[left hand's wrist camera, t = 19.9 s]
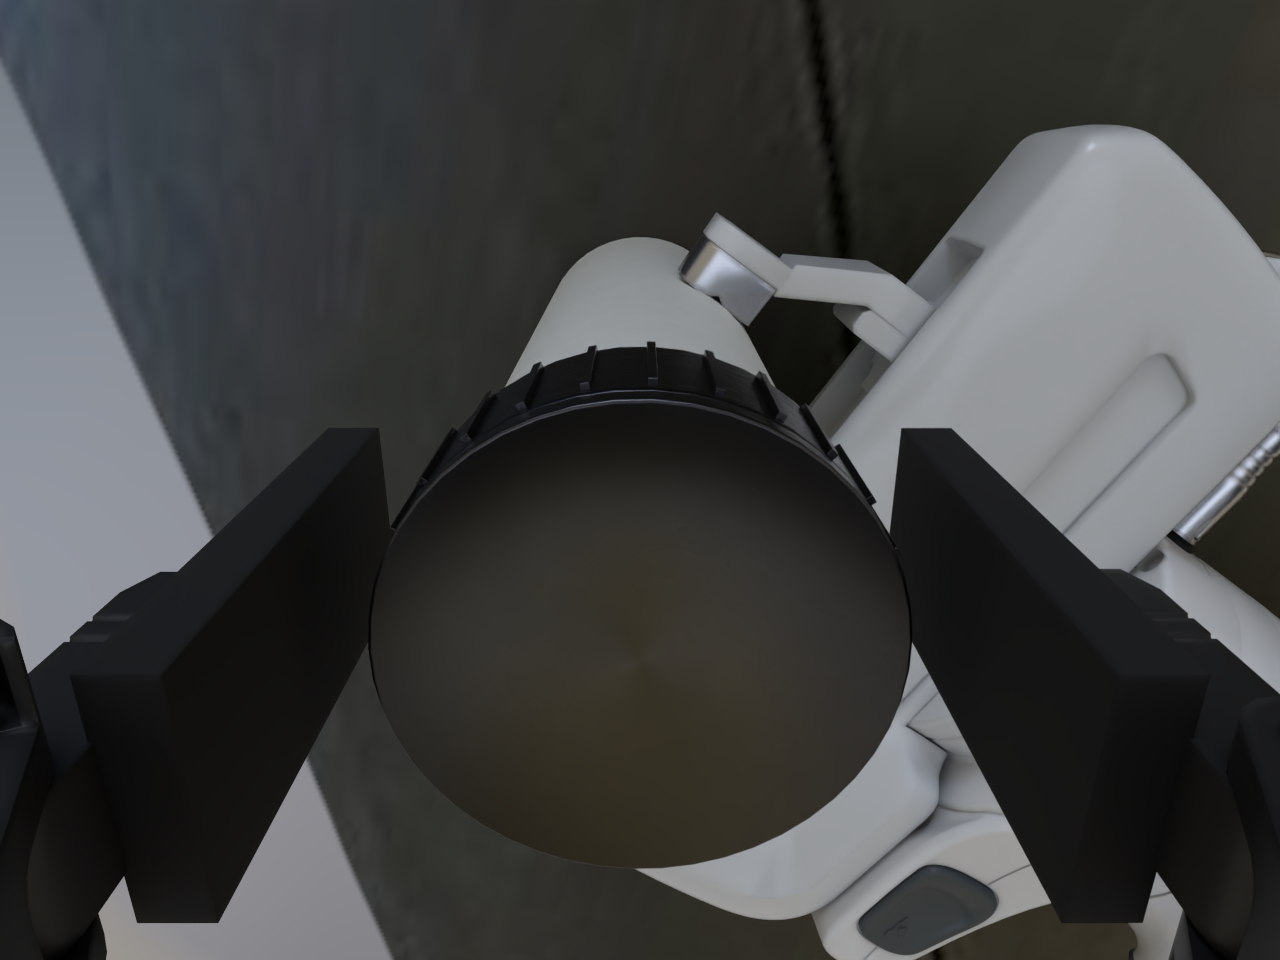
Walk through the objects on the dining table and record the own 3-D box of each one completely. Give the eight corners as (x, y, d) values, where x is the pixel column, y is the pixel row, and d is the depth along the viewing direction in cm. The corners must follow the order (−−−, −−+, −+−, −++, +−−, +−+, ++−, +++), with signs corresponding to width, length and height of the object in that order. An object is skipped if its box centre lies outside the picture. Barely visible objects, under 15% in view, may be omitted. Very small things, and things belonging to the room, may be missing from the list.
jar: (766, 357, 26) (944, 675, 11) (615, 452, 27) (583, 861, 12) (668, 198, 25) (714, 307, 9) (510, 305, 26) (318, 562, 10)
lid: (554, 808, 14) (536, 939, 11) (319, 473, 12) (245, 553, 9) (934, 646, 13) (998, 758, 10) (750, 248, 11) (778, 279, 8)
